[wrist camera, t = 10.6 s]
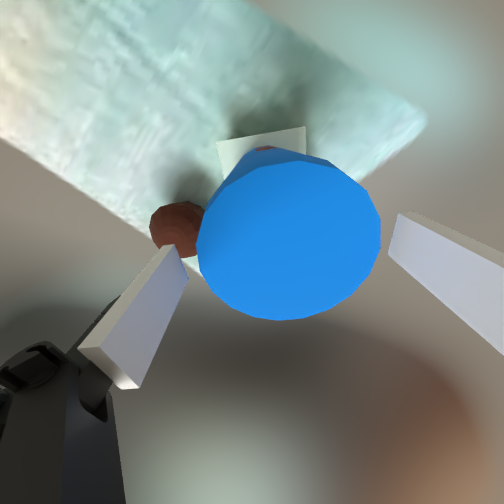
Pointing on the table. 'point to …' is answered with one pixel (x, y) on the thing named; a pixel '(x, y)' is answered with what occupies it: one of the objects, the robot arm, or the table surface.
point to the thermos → (287, 235)
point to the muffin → (177, 227)
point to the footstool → (259, 145)
